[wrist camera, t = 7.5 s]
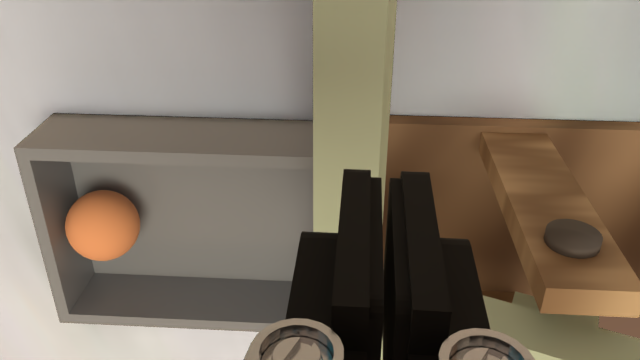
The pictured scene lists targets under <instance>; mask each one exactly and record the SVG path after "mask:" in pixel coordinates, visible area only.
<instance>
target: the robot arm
mask: <svg viewBox="0 0 640 360" xmlns="http://www.w3.org/2000/svg"><path fill="white" fill-rule="evenodd" d="M382 340H383V360H535V359H534V357H533V356H532V355H531V353H530V352H529V350H528V349H527V348H526V347H524V346H523V345H522V344H521V343H520V342H518V341H517V340H516V339H514V338H512V337H510V336H508V335H506V334H504V333H501V332H497V331H494V330H491V329H490V325H489V321H488V316H487V312H486V308H485V303H484V299H483V295H482V290H481V286H480V282H479V277H478V273H477V269H476V264H475V260H474V256H473V251H472V247H471V244H470V241H469V240H468V239H457V238H440V235H439V229H438V222H437V216H436V210H435V204H434V197H433V191H432V185H431V179H430V173H429V172H410V171H401V175H400V178H390V183H389V197H388V211H387V225H386V240H385V254H384V269H383V224H382V179H381V178H380V177H371V170H359V169H344V170H343V181H342V193H341V204H340V215H339V226H338V233H328V232H306V231H302V232H301V236H300V241H299V246H298V252H297V257H296V263H295V268H294V274H293V279H292V285H291V291H290V296H289V302H288V307H287V313H286V318H285V320H280V321H278V322H276V323H273V324H271V325H268V326H267V327H266V328H264V329H263V330H262V331H260V332H259V333H258V334H257V335H256V337H255V338H254V340H253V341H252V343H251V344H250V347H249V349H248V351H247V353H246V355H245V358H244V360H381V347H382Z"/></svg>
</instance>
